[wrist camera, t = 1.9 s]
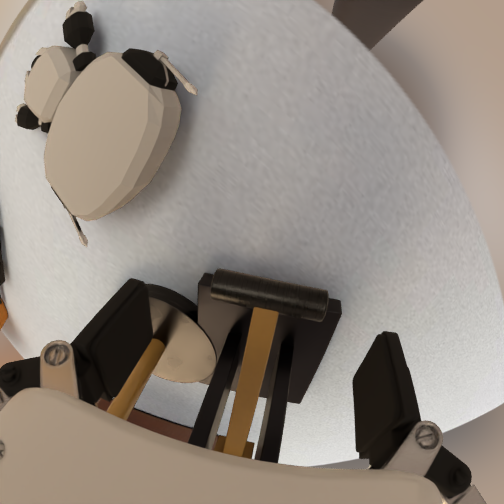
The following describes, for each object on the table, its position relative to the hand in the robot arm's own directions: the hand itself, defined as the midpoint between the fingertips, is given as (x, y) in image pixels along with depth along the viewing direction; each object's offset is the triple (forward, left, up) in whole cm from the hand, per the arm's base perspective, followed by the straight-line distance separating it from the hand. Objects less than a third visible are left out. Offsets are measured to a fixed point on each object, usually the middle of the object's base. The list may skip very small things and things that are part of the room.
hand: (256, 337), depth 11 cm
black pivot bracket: (+9, +3, -9) cm, 13 cm away
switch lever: (+5, +2, -1) cm, 5 cm away
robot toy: (-4, -15, -9) cm, 18 cm away
